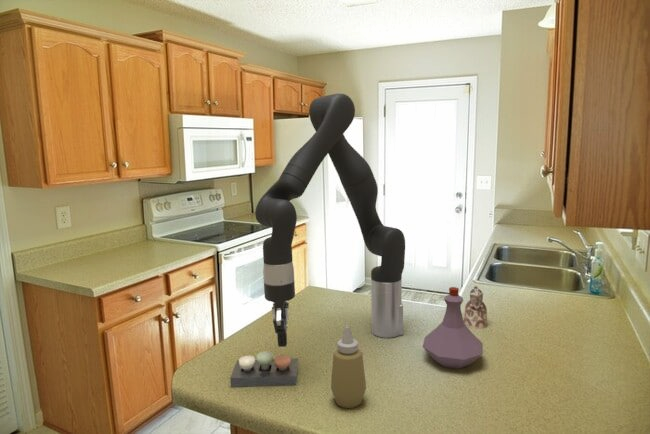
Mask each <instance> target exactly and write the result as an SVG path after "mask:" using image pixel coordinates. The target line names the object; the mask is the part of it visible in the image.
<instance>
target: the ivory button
mask: <svg viewBox="0 0 650 434" xmlns="http://www.w3.org/2000/svg"><path fill="white" fill-rule="evenodd" d="M238 360H239V367H240V368H242V369H243V372H244V371H252V368H253V367H254V366H255V360H256V358H255V356H253V355H244V356H241V357H240V358H239V359H238Z"/></svg>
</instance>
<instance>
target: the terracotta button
mask: <svg viewBox="0 0 650 434" xmlns="http://www.w3.org/2000/svg"><path fill="white" fill-rule="evenodd" d="M274 359H275V366H276V367H278V368H279V370H287V367H288V366H290V365H291V360H290V359H291V356H290V355H288V354H279V355H277V356H275V357H274Z"/></svg>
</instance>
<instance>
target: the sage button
mask: <svg viewBox="0 0 650 434" xmlns="http://www.w3.org/2000/svg"><path fill="white" fill-rule="evenodd" d="M273 359H274V356H273V352H271V351H269V350H263V351H260V352H258V353H257V354H256V360H257V363H259V364H261V371H269V370H270V365H269V363H271V362H272V361H273Z"/></svg>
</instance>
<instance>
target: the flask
mask: <svg viewBox="0 0 650 434" xmlns="http://www.w3.org/2000/svg"><path fill="white" fill-rule="evenodd" d="M448 291H449V294H447V295H444V297H443V299H444V302H445V304H446V307H445V308H446V309H445V312H444V316H443V319H442V321H441V323H440V324H438V326H436V327H435V328H434V329H433V330H431V331H430V333H428V334H427V335H426V336H425V337H424V340H423V343H422V348H423V350H425V351H426V352H427V354H429V356H430V357H431V358H432V360H434V361H435V362H437V363H438V364H439V365H441V366H442V367H444V368H451V369H458V370H459V369H462V368H464V367H468V366H470V365H471V364H473V363H474V362H475V361H476V360H478V359H479V358H480V357H481V356H482V355H483V354H484V347H483V344H484V343H483V342H482V341H481V340H480V339H479V338H478V337H477V336H476V335H475V334H474V333H473V332H472V331H471V330H470V329H469V327H468V326H466V325H465V324H464V316H463V313H462V308H461V305H462V304H463V302H464V298H463V297H462V296H461V295H459V287H455V286H451V287H449V288H448Z"/></svg>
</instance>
